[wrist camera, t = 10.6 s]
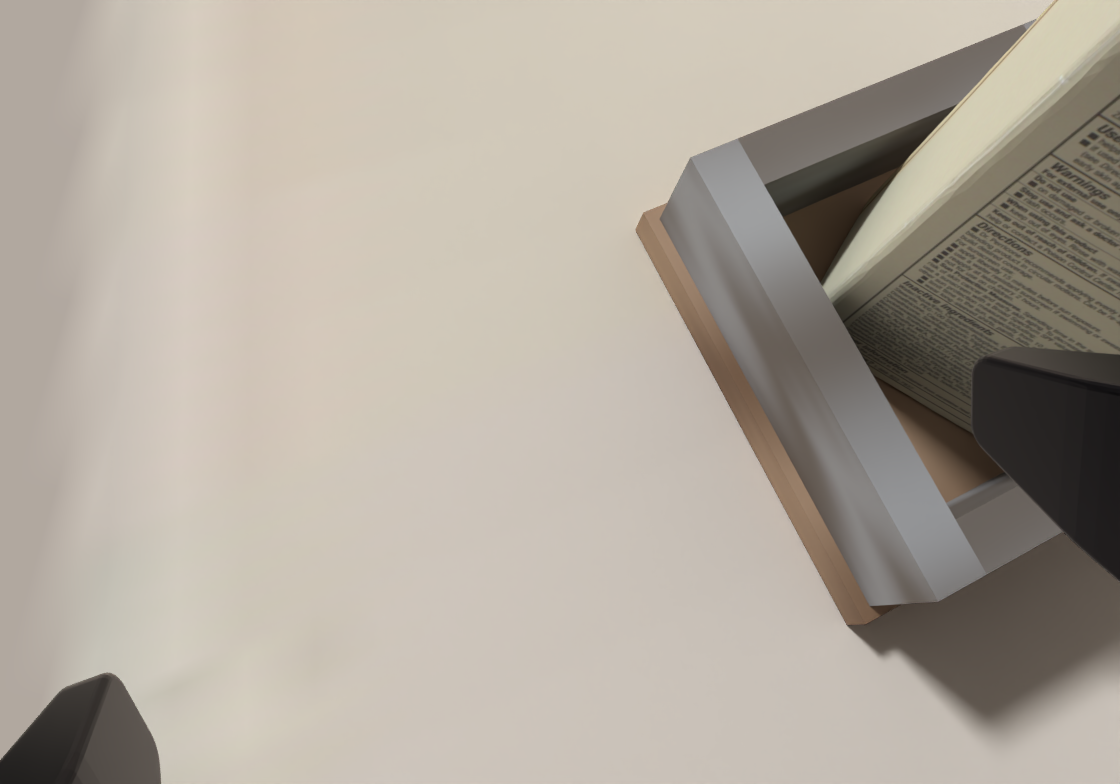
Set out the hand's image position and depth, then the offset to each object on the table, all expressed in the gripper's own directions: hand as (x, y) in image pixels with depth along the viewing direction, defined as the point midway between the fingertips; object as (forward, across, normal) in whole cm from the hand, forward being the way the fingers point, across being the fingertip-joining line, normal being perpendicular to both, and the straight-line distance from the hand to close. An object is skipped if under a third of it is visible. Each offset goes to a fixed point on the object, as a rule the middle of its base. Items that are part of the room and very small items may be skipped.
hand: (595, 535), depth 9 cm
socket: (+11, -12, +6) cm, 17 cm away
